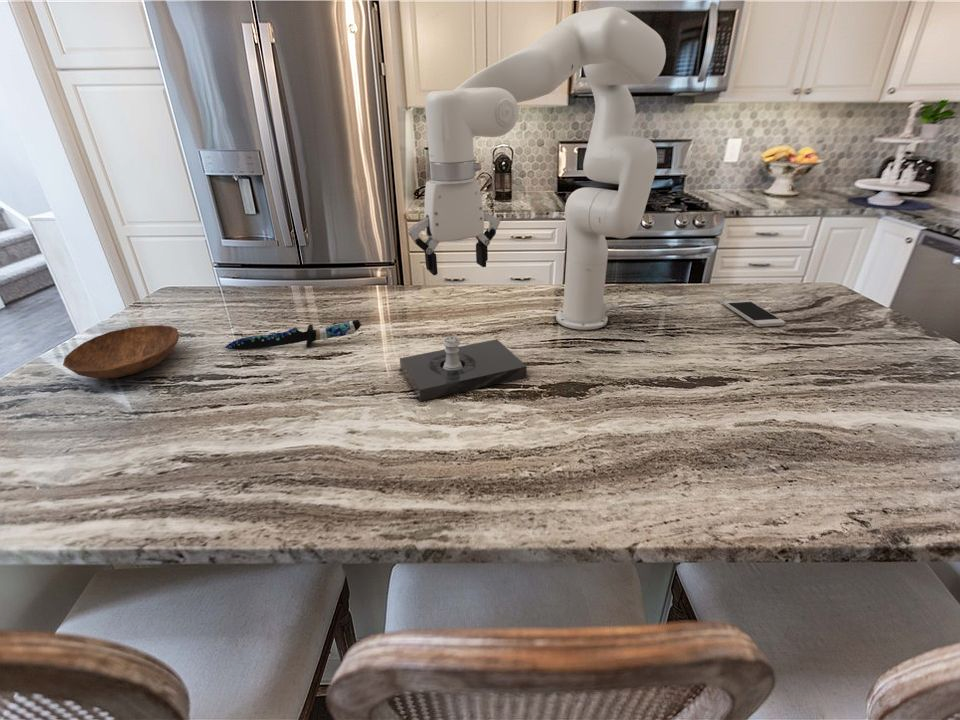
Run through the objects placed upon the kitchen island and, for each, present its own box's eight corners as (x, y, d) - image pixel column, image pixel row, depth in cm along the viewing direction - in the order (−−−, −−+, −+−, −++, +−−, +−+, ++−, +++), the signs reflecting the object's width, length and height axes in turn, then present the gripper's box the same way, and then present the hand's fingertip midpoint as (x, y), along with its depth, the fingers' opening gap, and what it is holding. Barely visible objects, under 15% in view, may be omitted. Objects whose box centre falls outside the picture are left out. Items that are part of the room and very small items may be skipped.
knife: (364, 335, 115) (359, 317, 113) (362, 340, 112) (357, 322, 110) (234, 352, 115) (227, 335, 113) (229, 358, 113) (221, 340, 111)
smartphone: (757, 327, 119) (758, 323, 118) (722, 304, 132) (723, 300, 132) (785, 325, 119) (786, 321, 119) (747, 302, 133) (748, 299, 133)
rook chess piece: (461, 381, 98) (459, 344, 94) (439, 379, 99) (437, 342, 95) (466, 370, 102) (465, 334, 98) (445, 368, 103) (443, 333, 99)
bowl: (198, 341, 117) (192, 321, 115) (161, 387, 98) (153, 365, 95) (106, 348, 114) (98, 328, 112) (50, 397, 95) (39, 374, 92)
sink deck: (497, 349, 110) (497, 339, 109) (526, 377, 99) (526, 366, 98) (400, 368, 103) (399, 358, 102) (420, 401, 91) (419, 390, 90)
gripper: (489, 165, 91) (491, 257, 99) (397, 174, 85) (407, 270, 93) (507, 170, 85) (508, 267, 93) (409, 179, 79) (419, 282, 87)
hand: (457, 269), depth 93 cm, fingers open, 9 cm apart
